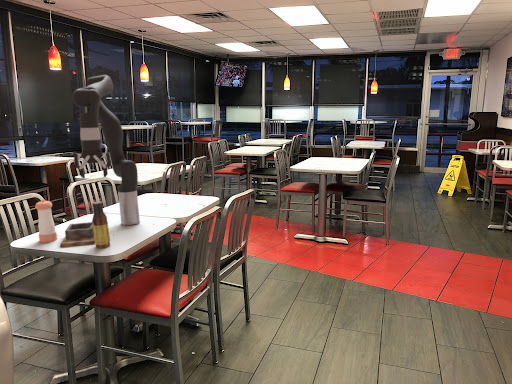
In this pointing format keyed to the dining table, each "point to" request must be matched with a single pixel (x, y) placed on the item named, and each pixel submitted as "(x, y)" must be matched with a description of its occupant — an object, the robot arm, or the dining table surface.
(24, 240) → the dining table surface
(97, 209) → the sauce bottle
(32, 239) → the dining table surface
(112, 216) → the dining table surface
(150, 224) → the dining table surface
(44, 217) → the pepper shaker
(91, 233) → the stone serving dish
